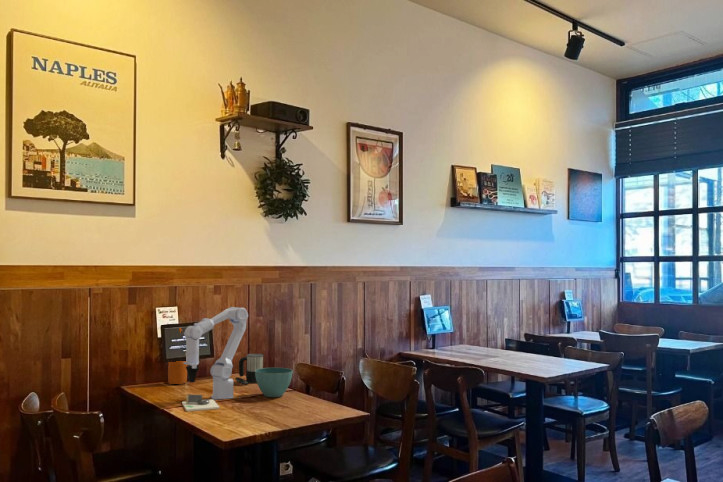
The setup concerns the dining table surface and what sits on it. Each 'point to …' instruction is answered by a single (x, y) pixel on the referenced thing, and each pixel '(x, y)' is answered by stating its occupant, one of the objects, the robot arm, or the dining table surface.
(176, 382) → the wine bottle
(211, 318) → the robot arm
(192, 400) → the tuner dial
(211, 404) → the tuner plate
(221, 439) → the dining table surface
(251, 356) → the milk frother
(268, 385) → the plant pot
